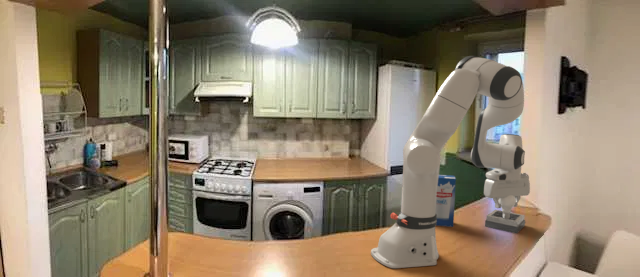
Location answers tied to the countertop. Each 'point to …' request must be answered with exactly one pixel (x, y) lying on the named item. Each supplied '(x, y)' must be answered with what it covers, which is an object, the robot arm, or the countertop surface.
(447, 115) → the robot arm
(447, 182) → the milk carton
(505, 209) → the lightbulb
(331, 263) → the countertop surface
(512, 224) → the socket
